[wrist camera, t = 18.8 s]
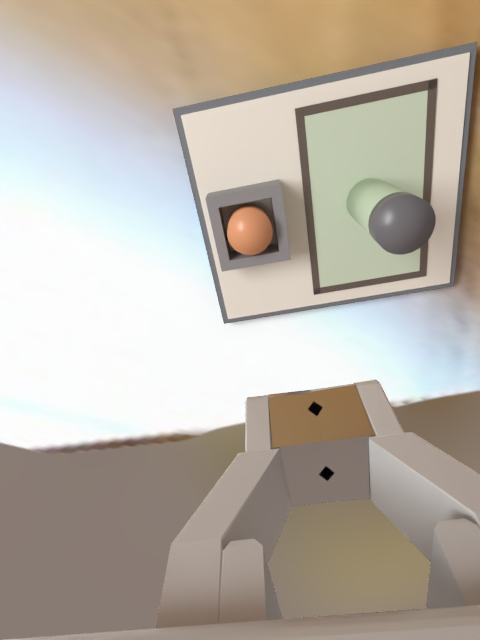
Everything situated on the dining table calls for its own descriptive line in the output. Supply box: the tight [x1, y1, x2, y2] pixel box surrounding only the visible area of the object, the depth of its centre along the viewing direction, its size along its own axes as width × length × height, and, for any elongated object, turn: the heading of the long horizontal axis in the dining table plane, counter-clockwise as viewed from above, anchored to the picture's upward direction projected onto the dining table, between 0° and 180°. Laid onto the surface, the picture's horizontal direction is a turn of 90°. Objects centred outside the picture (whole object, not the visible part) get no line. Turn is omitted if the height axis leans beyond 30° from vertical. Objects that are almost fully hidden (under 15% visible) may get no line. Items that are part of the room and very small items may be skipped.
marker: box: [346, 178, 436, 255], centre depth 26 cm, size 4×4×8 cm
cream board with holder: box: [173, 42, 477, 324], centre depth 29 cm, size 21×18×4 cm
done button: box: [227, 204, 273, 255], centre depth 29 cm, size 3×3×2 cm
